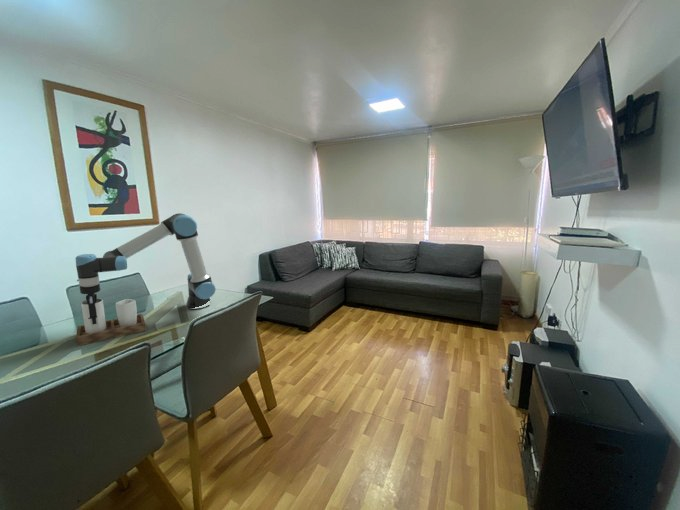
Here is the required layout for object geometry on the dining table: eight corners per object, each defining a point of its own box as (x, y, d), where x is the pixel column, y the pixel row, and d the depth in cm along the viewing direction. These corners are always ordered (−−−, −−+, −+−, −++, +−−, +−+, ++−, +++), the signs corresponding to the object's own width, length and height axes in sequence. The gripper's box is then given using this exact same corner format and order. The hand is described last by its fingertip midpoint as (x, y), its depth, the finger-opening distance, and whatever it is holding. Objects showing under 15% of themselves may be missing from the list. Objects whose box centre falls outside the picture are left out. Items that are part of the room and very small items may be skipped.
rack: (143, 320, 160) (142, 313, 159) (145, 330, 149) (145, 322, 148) (79, 333, 142) (77, 326, 141) (77, 345, 131) (75, 337, 130)
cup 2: (116, 328, 147) (113, 303, 144) (129, 322, 154) (126, 298, 151) (127, 330, 146) (124, 305, 143) (139, 324, 153) (137, 300, 150)
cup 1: (86, 335, 135) (81, 305, 131) (84, 329, 140) (80, 300, 137) (107, 330, 141) (103, 301, 137) (105, 324, 146) (101, 297, 143)
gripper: (80, 280, 140) (86, 320, 145) (77, 292, 125) (84, 336, 130) (99, 278, 145) (105, 316, 150) (99, 289, 130) (105, 331, 135)
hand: (95, 325), depth 140 cm, fingers closed on cup 1, 8 cm apart
